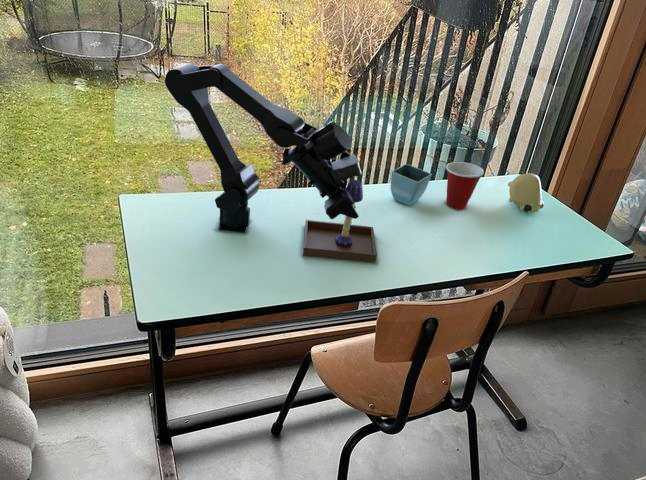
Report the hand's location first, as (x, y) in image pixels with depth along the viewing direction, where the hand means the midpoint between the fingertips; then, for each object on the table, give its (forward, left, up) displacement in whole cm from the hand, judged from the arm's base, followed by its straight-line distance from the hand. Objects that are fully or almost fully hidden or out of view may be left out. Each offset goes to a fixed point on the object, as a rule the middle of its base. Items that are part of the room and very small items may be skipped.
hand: (355, 213), depth 134 cm
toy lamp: (-2, 0, -9) cm, 9 cm away
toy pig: (+54, +33, -9) cm, 64 cm away
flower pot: (+17, +28, -9) cm, 34 cm away
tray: (-3, 0, -9) cm, 10 cm away
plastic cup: (+32, +29, -9) cm, 44 cm away
